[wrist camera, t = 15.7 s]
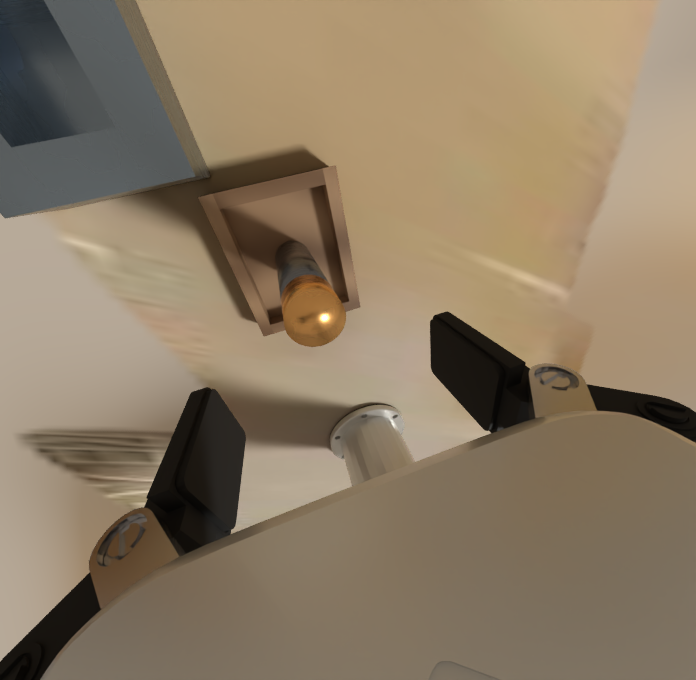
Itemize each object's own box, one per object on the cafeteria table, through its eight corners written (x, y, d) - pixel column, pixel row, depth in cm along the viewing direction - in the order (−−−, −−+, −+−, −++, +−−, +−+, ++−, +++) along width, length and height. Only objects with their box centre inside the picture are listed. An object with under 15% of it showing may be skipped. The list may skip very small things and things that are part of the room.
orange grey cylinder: (305, 236, 22) (339, 283, 12) (315, 271, 23) (350, 336, 14) (269, 245, 21) (274, 302, 11) (282, 280, 23) (295, 353, 13)
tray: (353, 298, 27) (360, 307, 25) (264, 325, 26) (263, 336, 24) (329, 166, 20) (335, 165, 18) (204, 195, 19) (197, 197, 17)
